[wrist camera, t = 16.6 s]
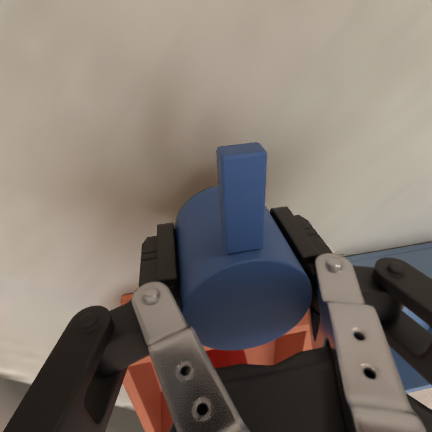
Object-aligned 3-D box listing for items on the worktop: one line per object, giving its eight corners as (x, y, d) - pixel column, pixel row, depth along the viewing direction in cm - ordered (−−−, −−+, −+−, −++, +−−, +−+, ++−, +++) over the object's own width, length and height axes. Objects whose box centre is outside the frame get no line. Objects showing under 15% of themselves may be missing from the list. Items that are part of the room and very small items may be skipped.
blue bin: (338, 257, 20) (380, 310, 16) (477, 233, 22) (546, 277, 18) (315, 355, 27) (341, 408, 23) (423, 332, 28) (464, 379, 24)
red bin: (121, 295, 19) (112, 363, 15) (286, 266, 20) (317, 322, 16) (155, 389, 25) (154, 452, 22) (276, 363, 27) (297, 419, 23)
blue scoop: (266, 255, 15) (305, 338, 11) (181, 269, 15) (189, 361, 11) (273, 103, 11) (340, 148, 7) (153, 116, 11) (150, 172, 7)
